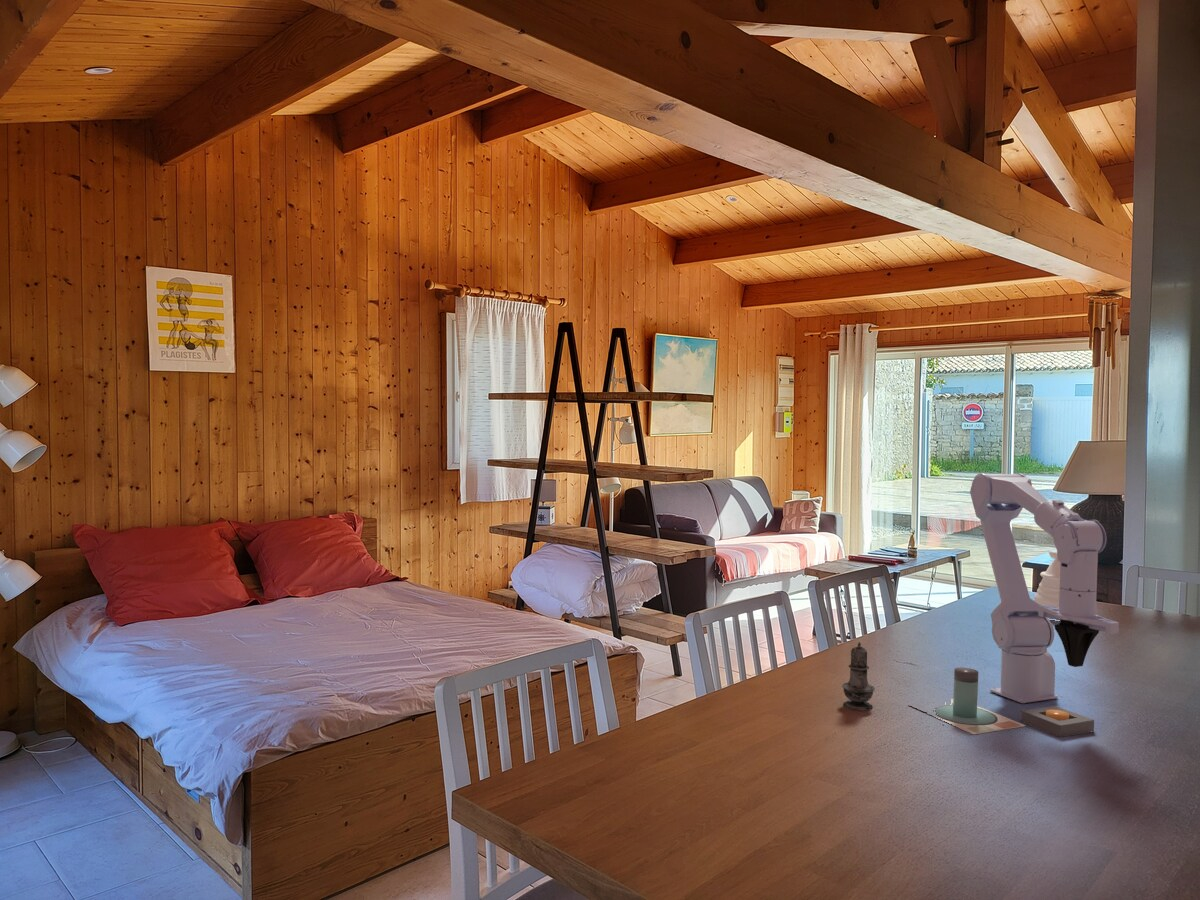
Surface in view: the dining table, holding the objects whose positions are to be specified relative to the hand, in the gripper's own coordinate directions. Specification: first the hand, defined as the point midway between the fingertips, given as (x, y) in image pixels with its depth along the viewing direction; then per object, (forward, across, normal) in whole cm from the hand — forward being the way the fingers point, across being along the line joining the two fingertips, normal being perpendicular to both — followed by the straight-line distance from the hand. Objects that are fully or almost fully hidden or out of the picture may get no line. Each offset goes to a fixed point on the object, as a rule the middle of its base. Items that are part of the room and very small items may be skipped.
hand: (1075, 665), depth 154 cm
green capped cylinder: (+10, -10, -15) cm, 21 cm away
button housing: (+10, 0, -4) cm, 11 cm away
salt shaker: (+11, -21, -30) cm, 38 cm away
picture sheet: (+10, -10, -15) cm, 21 cm away
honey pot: (+11, -63, +71) cm, 96 cm away
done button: (+10, 0, -4) cm, 10 cm away
